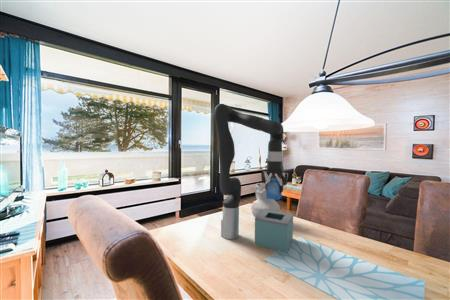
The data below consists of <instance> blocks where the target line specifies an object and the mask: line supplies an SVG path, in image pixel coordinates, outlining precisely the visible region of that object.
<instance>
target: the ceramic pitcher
mask: <svg viewBox="0 0 450 300" xmlns="http://www.w3.org/2000/svg"><path fill="white" fill-rule="evenodd" d="M254 191H255V193H254V194H255V198H256V200H254V201H253V202H252V203H251V206H250V209H251V213H252V216H253V217H254V219H255V218H256V217H257V216H258V215H259V214H260V213H261V212H262V211H263V210H264V209H265V210H271V211H277V212H281V207H280V205H279V203H278V202H276V200H274V199H267V198H266V189H265V188H262V186H261V183H259V182H257V183H256V184H255V187H254Z"/></svg>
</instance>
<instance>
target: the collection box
mask: <svg viewBox="0 0 450 300" xmlns="http://www.w3.org/2000/svg"><path fill="white" fill-rule="evenodd" d="M293 232H294V213H290V212H289V213H288V212H283V211H280V212H277V211H271V210H265V209H264V210H263V211H262V212H261V213H260V214H259V215H258V216H257V217H256V218H255V217H254V246H259V247H262V248H267V249H271V250H275V251H278V252H283V253H286V254H287V253H288V252H289V249H290V246H291V243H292V241H293V240H294V236H293V235H294V233H293Z"/></svg>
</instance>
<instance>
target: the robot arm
mask: <svg viewBox="0 0 450 300" xmlns="http://www.w3.org/2000/svg"><path fill="white" fill-rule="evenodd" d="M213 112H214V113H213V115H214V116H213V117H214V121H215V125H216V127H215V128H216V136H217V149H218V150H217V151H218V158H219V189H220V192H221V193H222V195H223V196H226V198H225V199H223V200H222V218H221V219H220V220H221V221H220V236H221V237H223V239H226V240H235V239H236V240H237V239H238V238H239V234H240V233H239V232H240V231H239V228H240V227H239V226H240V203H241V197H242V196H241V194H242V185H241V180H240V179H239V178H238V177H234V176H233V177H231V172H230V171H231V166H232V164H233V161H234V159H235V157H236V156H235V154H236V151H235V141H234V139H233V136H232V133H231V130H230V127H229V123H232V124H233V123H234V124H238V125H241V126H244V127H246V128H249V129H253V130H255V131H260V132H264V133H266V134H268V135H269V136H270V137H269V141H268V144H267V145H268V146H267V157H266V162H267V164H266V165H267V167H266V171H265V170H263V171H261V172H260V174H261V175H260V176H261V183H262V184H265V188H264V189H266V187H267V185H268V183H269V182H270V181H272V179H271V178H272V175H274V176H276V179H277V181H278V182H279V184H280V193H282V194H283V191H284V186H286V185H288V180H289V178H288V177H289V173H288V172H283V137H284V126H283V124H282V123H281V122H278V121H276V120H271V119H266V118H265V117H260V116H257V115H254V114H248V113H242V112H238V111H236V110H235V109H233V108H231V107H230V106H228V105H226V104H224V103H219V104H217V105H216V106H215V108H214V111H213ZM266 175H267V178H266ZM282 176H283V177H284V178H283V180H282Z"/></svg>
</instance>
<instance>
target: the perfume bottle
mask: <svg viewBox="0 0 450 300" xmlns="http://www.w3.org/2000/svg"><path fill="white" fill-rule="evenodd" d="M282 194H283V192H282V193H280V184H279V182H278V180H277V179H276V176H274V175H272V178H271V180H270V181H269V183H268V185H267V187H266V198H267V199H274V200H275V201H280V199H281V198H282Z"/></svg>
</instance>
